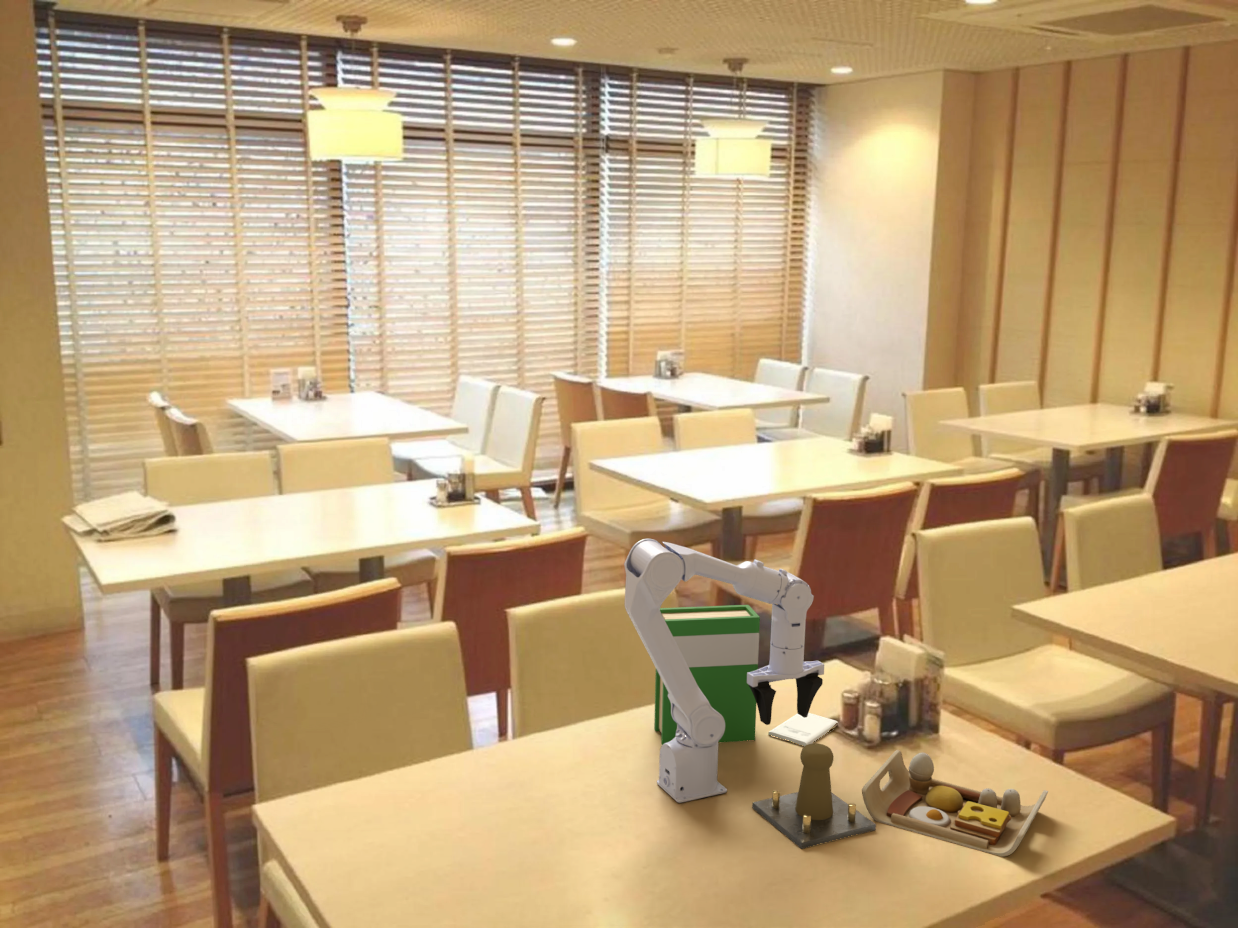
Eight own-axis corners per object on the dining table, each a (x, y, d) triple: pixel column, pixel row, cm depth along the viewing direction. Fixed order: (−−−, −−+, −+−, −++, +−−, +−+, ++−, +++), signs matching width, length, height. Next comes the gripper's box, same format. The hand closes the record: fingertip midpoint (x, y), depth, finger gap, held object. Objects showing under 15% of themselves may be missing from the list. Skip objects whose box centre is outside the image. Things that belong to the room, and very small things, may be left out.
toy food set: (859, 819, 181) (861, 774, 179) (895, 776, 196) (898, 735, 195) (1021, 865, 168) (1025, 818, 166) (1046, 815, 183) (1050, 771, 182)
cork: (817, 798, 184) (820, 735, 182) (840, 814, 179) (844, 750, 177) (787, 806, 182) (790, 742, 180) (810, 823, 176) (814, 757, 174)
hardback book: (662, 745, 206) (665, 620, 201) (654, 729, 213) (657, 608, 208) (754, 740, 209) (759, 617, 204) (743, 724, 216) (748, 604, 211)
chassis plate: (801, 848, 171) (802, 827, 170) (752, 807, 183) (753, 787, 182) (875, 829, 177) (876, 809, 176) (822, 791, 189) (823, 772, 188)
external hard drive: (838, 728, 216) (806, 750, 206) (800, 717, 221) (767, 738, 211) (838, 720, 215) (806, 741, 206) (800, 709, 220) (768, 730, 211)
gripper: (809, 630, 197) (805, 703, 199) (738, 641, 191) (735, 716, 193) (833, 643, 191) (829, 718, 193) (760, 655, 185) (757, 732, 187)
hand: (783, 718), depth 193 cm, fingers open, 7 cm apart
